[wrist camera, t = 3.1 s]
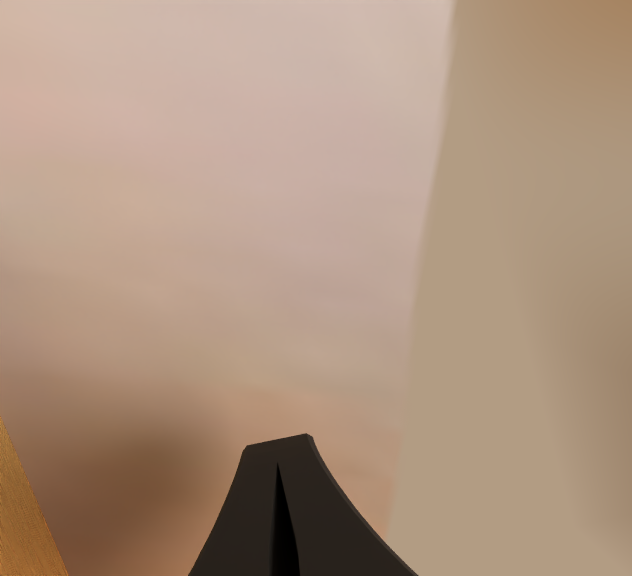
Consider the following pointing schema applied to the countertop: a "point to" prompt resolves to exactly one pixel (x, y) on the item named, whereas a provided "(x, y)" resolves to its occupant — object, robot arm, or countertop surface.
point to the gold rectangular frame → (23, 522)
